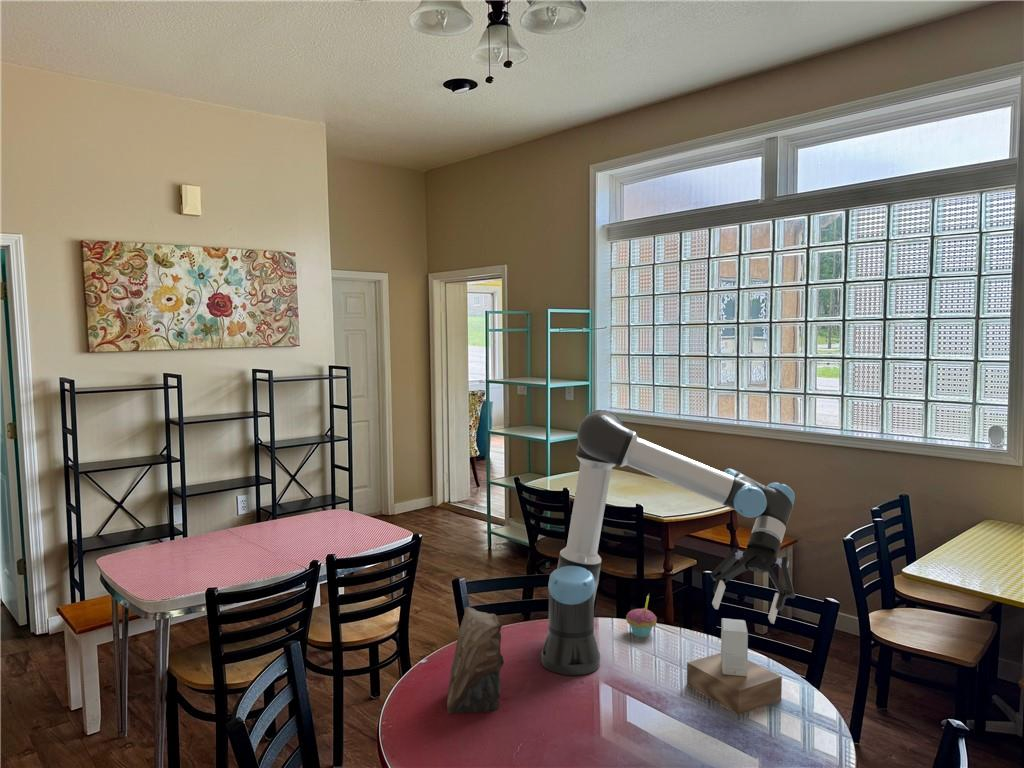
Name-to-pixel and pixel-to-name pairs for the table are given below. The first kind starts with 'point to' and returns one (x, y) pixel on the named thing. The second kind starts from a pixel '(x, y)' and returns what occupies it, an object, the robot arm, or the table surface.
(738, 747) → the table surface
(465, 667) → the owl
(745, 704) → the walnut block
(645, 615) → the cupcake
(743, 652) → the small box
